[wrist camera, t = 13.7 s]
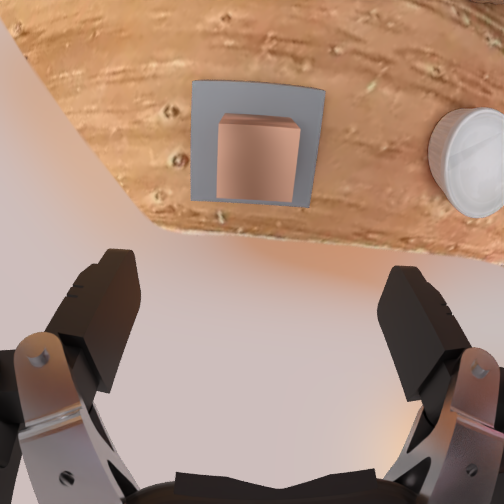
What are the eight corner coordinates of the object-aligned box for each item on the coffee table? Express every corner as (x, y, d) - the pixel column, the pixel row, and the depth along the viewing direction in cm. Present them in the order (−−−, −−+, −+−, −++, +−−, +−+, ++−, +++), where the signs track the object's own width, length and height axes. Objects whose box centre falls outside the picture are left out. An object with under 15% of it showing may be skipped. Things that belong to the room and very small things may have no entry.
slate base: (315, 87, 25) (325, 90, 21) (302, 190, 30) (309, 207, 27) (200, 79, 24) (192, 81, 21) (197, 184, 30) (190, 200, 26)
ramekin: (446, 79, 23) (477, 85, 19) (506, 135, 25) (535, 149, 21) (400, 169, 29) (424, 189, 24) (465, 211, 31) (489, 233, 26)
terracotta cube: (290, 117, 22) (300, 129, 18) (284, 177, 25) (291, 202, 21) (224, 113, 22) (218, 123, 18) (222, 174, 25) (216, 198, 21)
